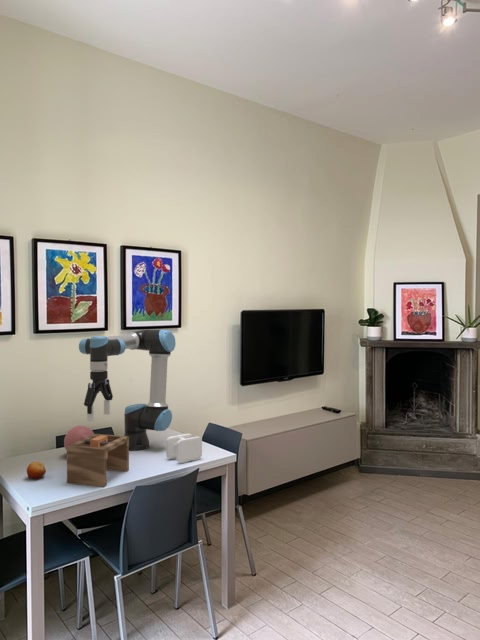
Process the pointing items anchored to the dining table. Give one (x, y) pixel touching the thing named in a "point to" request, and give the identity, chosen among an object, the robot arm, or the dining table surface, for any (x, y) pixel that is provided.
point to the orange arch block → (97, 440)
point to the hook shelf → (96, 460)
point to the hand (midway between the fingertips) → (99, 417)
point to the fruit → (35, 470)
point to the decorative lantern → (77, 435)
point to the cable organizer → (184, 448)
